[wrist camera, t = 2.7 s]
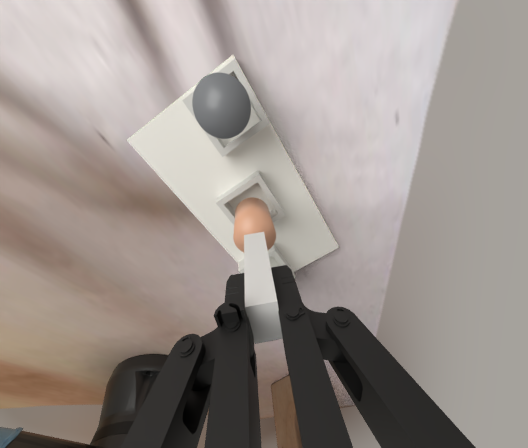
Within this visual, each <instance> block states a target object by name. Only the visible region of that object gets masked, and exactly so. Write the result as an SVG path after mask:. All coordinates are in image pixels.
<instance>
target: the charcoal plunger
mask: <svg viewBox="0 0 528 448" xmlns="http://www.w3.org/2000/svg"><path fill="white" fill-rule="evenodd" d="M192 106H193V112H194V115H195V118H196V120H197V122H198V123H199V125H200V126H201V127H202V129H203V130H204V131H206V132H207V133H208V134H210V135H211V136H214V137H216V138H221V139H228V138H233V137H235V136H237V135H238V134H240V133H241V132H242V131H243V130H244V129H245V127H246V126H247V124H248V122H249V119H250V114H251V103H250V99H249V96H248V93H247V91H246V89H245V88H244V86H243V85H242V84H241V82H240V81H238V80H237V79H236V78H235V77H233V76H231V75H229V74H226V73H219V72H217V73H212V74H209V75H207V76H205V77H204V78H203V79H201V80H200V82H199V83H198V84H197V86H196V88H195V90H194V93H193V99H192Z"/></svg>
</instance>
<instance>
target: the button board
mask: <svg viewBox="0 0 528 448" xmlns="http://www.w3.org/2000/svg"><path fill="white" fill-rule="evenodd" d="M217 72H219V73H226V74H229V75H231V76H233V77H235V78H236V79H237V80H238V81H240V82H241V84H242V85H243V86H244V88H245V89H246V91H247V93H248V96H249V99H250V103H251V114H250V119H249V122H248V124H247V126H246V127H245V129H244V130H243V131H242V132H241V133H240V134H238V135H237V136H235V137H233V138H228V139H221V138H216V137H214V136H211V135H210V134H208V133H207V132H206V131H204V130H203V129H202V127H201V126H200V125H199V123H198V122H197V120H196V118H195V115H194V112H193V106H192V99H193V93H194V90H195V88H196V86H197V84H198V83H199V82H198V83H197V84H196V85H195V86H193V87H192V88H191V89H190V90H188V91H187V92H186V93H185V94H183V95H182V96H181V97H180V98H178V99H177V100H176V101H175V102H173V103H172V104H171V105H170V106H168V107H167V108H166V109H165V110H163V111H162V112H161V113H160V114H158V115H157V116H156V117H155V118H153V119H152V120H151V121H150V122H149V123H147V124H146V125H145V126H144V127H142V128H141V129H140V130H139V131H137V132H136V133H135V134H134V135H132V136H131V137H130V138H129V139H127V141H128V142H129V143H130V145H131V146H132V147H133V148H134V149H135V150H136V151H137V152H138V153H139V155H140V156H141V157H142V158H143V159H144V160H145V161H146V162H147V163H148V164H149V166H150V167H151V168H152V169H153V170H154V171H155V172H156V173H157V174H158V176H159V177H160V178H161V179H162V180H163V181H164V182H165V183H166V184H167V185H168V187H169V188H170V189H171V190H172V191H173V192H174V193H175V194H176V195H177V197H178V198H179V199H180V200H181V201H182V202H183V203H184V204H185V205H186V207H187V208H188V209H189V210H190V211H191V212H192V213H193V214H194V215H195V216H196V218H197V219H198V220H199V221H200V222H201V223H202V224H203V225H204V226H205V228H206V229H207V230H208V231H209V232H210V233H211V234H212V235H213V236H214V238H215V239H216V240H217V241H218V242H219V243H220V244H221V245H222V246H223V247H224V249H225V250H226V251H227V252H228V253H229V254H230V255H231V256H232V257H233V259H234V260H235V261H236V262H237V263H238V272H239V273H240V274H241V273H244V253H243V252H242V251H240V250H239V249H238V248H237V247H236V245H235V243H234V239H233V235H234V222H235V210H236V207H237V205H238V204H239V203H240V202H241V201H242V200H244V199H246V198H251V197H254V198H259V199H261V200H263V201H264V202H265V203H266V204H267V206H268V208H269V212H270V215H271V218H272V222H273V225H274V228H275V232H276V240H275V243H274V245H273V246H272V247H271V248H270V249H269V250H268V255H269V260H270V266H271V268H272V267H277V266H283V265H287V266H288V267H289V268H290V269H291V270H292V273H293V276H294V279H295V278H296V277H295V274H294V272H295V271H297V270H299V269H300V268H302V267H304V266H306V265H308V264H310V263H311V262H313V261H315V260H317V259H319V258H320V257H322V256H324V255H326V254H328V253H330V252H331V251H333V250H335V249H337V248H339V246H338V244H337V242H336V241H335V239H334V237H333V235H332V233H331V232H330V230H329V228H328V226H327V224H326V222H325V221H324V219H323V217H322V215H321V213H320V212H319V210H318V208H317V206H316V204H315V202H314V201H313V199H312V197H311V195H310V193H309V192H308V190H307V188H306V186H305V184H304V183H303V181H302V179H301V177H300V175H299V173H298V172H297V170H296V168H295V166H294V164H293V163H292V161H291V159H290V157H289V155H288V153H287V152H286V150H285V148H284V146H283V144H282V143H281V141H280V139H279V137H278V135H277V133H276V132H275V130H274V128H273V126H272V124H271V122H270V121H269V119H268V117H267V115H266V113H265V111H264V110H263V108H262V106H261V104H260V102H259V101H258V99H257V97H256V95H255V93H254V91H253V90H252V88H251V86H250V84H249V82H248V81H247V79H246V77H245V75H244V73H243V71H242V70H241V68H240V66H239V64H238V62H237V61H236V59H235V57H234V55H232V56H231V57H229V58H228V59H227V60H226V61H224V62H223V63H222V64H221V65H219V66H218V67H217V68H216V69H214V70H213V71H212V72H211V73H210V74H212V73H217ZM208 75H209V74H208Z"/></svg>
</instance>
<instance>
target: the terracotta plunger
mask: <svg viewBox="0 0 528 448" xmlns="http://www.w3.org/2000/svg"><path fill="white" fill-rule="evenodd" d="M259 232H264V235H265V240H266V245H267V250H269V249H270V248H271V247H272V246H273V245H274V243H275V240H276V232H275V228H274V225H273V222H272V218H271V215H270V212H269V208H268V206H267V204H266V203H265V202H264V201H263V200H261V199H259V198H254V197H251V198H246V199H244V200H242V201H241V202H240V203H239V204H238V205H237V207H236V210H235V222H234V235H233V239H234V243H235V245H236V247H237V248H238V249H239V250H240V251H242V252H243V253H244V235H247V234H253V233H259Z"/></svg>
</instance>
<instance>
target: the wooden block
mask: <svg viewBox="0 0 528 448" xmlns="http://www.w3.org/2000/svg"><path fill="white" fill-rule="evenodd" d="M271 391H272V400H273V409H274V418H275V427H276V436H277V445H278V448H302V442H301V437H300V431H299V426H298V420H297V415H296V409H295V404H294V398H293V393H292V387H291V382H290V376H289V375H288V376H286V377H284V378H283V379H281V380H279V381H277V382H275V383H274V384H272V385H271Z"/></svg>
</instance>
